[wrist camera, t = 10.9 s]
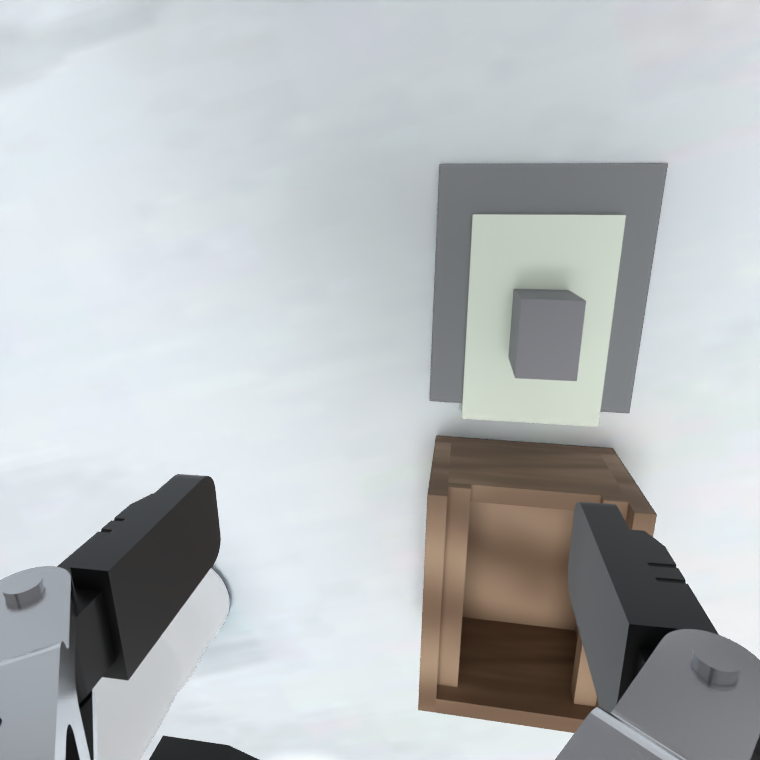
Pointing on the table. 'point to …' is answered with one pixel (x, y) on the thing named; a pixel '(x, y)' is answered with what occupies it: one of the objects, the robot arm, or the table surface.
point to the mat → (544, 197)
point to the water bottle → (158, 675)
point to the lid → (540, 316)
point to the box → (511, 578)
